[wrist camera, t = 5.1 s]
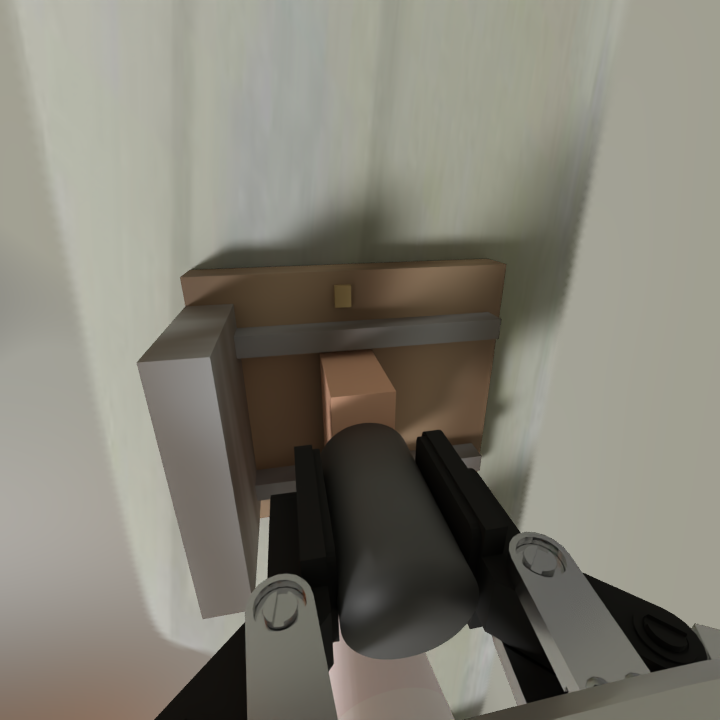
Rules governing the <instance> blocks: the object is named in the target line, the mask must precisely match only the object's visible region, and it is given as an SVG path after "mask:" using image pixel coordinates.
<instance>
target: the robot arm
mask: <svg viewBox="0 0 720 720" xmlns="http://www.w3.org/2000/svg"><path fill="white" fill-rule="evenodd" d="M294 457H295V476H296V492H290V493H283V494H276V495H271V497H270V520H269V549H268V578H267V579H266V580H264V581H263V582H262V583H260V584H259V585H258V586H257V587H256V588H255V589H254V591H253V592H252V593H251V595H250V597H249V599H248V601H247V603H246V610H245V623H244V624H243V625H242V626H241V627H240V628H239V629H238V630H237V631H236V632H235V634H234V635H233V636H232V637H231V638H230V639H229V640H228V641H227V642H226V643H225V644H224V645H223V646H222V647H221V649H220V650H219V651H218V652H217V653H216V654H215V655H214V656H213V657H212V658H211V659H210V660H209V661H208V662H207V664H206V665H205V666H204V667H203V668H202V669H201V670H200V671H199V672H198V673H197V674H196V676H194V678H193V679H192V680H191V681H190V682H189V683H188V684H187V685H186V686H185V687H184V688H183V690H181V691H180V693H179V694H178V695H177V696H176V697H175V698H174V699H173V700H172V701H171V702H170V703H169V704H168V706H167V707H166V708H165V709H164V710H163V711H162V712H161V713H160V714H159V715H158V716H157V717H156V718H155V719H154V720H338V717H337V712H336V707H335V702H334V697H333V692H332V687H331V682H330V676H329V670H330V669H331V667H332V666H333V664H334V656H333V643H334V642H339V641H340V639H339V616H338V608H337V596H338V593H337V570H336V555H335V546H334V539H333V533H332V526H331V520H330V514H329V507H328V501H327V494H326V488H325V481H324V475H323V468H322V462H321V456H320V449H312V445H303V446H294ZM415 462H416V464H417V466H418V468H419V470H420V471H421V473H422V475H423V477H424V479H425V481H426V483H427V485H428V487H429V489H430V491H431V493H432V495H433V497H434V499H435V501H436V503H437V505H438V507H439V509H440V511H441V513H442V515H443V517H444V519H445V520H446V522H447V524H448V526H449V528H450V530H451V532H452V534H453V536H454V538H455V540H456V542H457V544H458V546H459V548H460V550H461V552H462V554H463V556H464V558H465V560H466V562H467V564H468V566H469V568H470V569H471V571H472V573H473V575H474V577H475V579H476V581H477V584H478V587H479V600H478V604H477V607H476V610H475V612H474V614H473V615H472V617H471V619H470V620H469V621H468V623H467V624H468V626H469V628H470V629H473V628H478V627H482V626H483V628H484V630H485V632H487V633H489V634H491V635H492V637H493V642H494V645H495V648H496V650H497V653H498V656H499V658H500V661H501V663H502V666H503V668H504V671H505V674H506V677H507V679H508V682H509V684H510V687H511V689H512V692H513V695H514V698H515V700H516V703H517V705H518V706H516V707H511V708H507V709H504V710H500V711H496V712H492V713H488V714H484V715H480V716H476V717H472V718H468V719H464V720H720V630H718V629H714V628H710V627H706V626H703V625H699V624H694V626H693V627H692V628H690V627H689V626H688V625H687V624H686V623H685V622H683V621H682V620H681V619H679V618H678V617H676V616H675V615H674V614H672V613H670V612H668V611H667V610H665V609H663V608H661V607H659V606H656V605H654V604H652V603H650V602H647V601H645V600H643V599H641V598H638V597H636V596H634V595H632V594H630V593H627V592H625V591H623V590H621V589H618V588H616V587H613V586H611V585H609V584H607V583H605V582H602V581H600V580H598V579H596V578H593V577H591V576H589V575H587V574H585V573H582V572H581V570H580V569H579V567H578V566H577V564H576V563H575V561H574V560H573V559H572V557H571V556H570V554H569V553H568V552H567V551H566V550H565V548H564V547H562V545H560V544H559V543H558V542H556V541H555V540H554V539H552V538H549V537H547V536H546V535H543V534H539V533H535V532H524V533H520V531H519V530H518V529H517V527H516V526H515V524H514V523H513V522H512V520H511V519H510V517H509V516H508V515H507V513H506V512H505V510H504V509H503V508H502V506H501V505H500V503H499V502H498V501H497V499H496V498H495V496H494V495H493V494H492V492H491V491H490V489H489V488H488V487H487V485H486V484H485V482H484V481H483V480H482V478H481V477H480V475H479V474H478V473H477V472H476V470H475V469H473V468H467V466H466V465H465V463H464V462H463V460H462V459H461V458H460V456H459V455H458V453H457V452H456V450H455V449H454V447H453V446H452V445H451V443H450V442H449V440H448V439H447V437H446V436H445V434H444V433H443V432H442V431H441V430H432V431H424V432H422V436H420V437H417V440H416V454H415Z"/></svg>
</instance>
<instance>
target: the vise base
mask: <svg viewBox="0 0 720 720" xmlns="http://www.w3.org/2000/svg"><path fill="white" fill-rule="evenodd" d="M505 271H506V264H504V263H501V262H497V261H494V260H490V259H466V260H439V261H413V262H386V263H359V264H333V265H306V266H280V267H253V268H226V269H200V270H189V271H188V272H186V273H185V274H184V275H183V276H181V277H180V280H181V285H182V290H183V295H184V301H185V306H186V307H185V308H184V309H183V310H182V311H181V312H180V313H179V315H178V316H177V317H176V318H175V319H174V320H173V321H172V323H171V324H170V325H169V326H168V327H167V328H166V330H165V331H164V332H163V333H162V334H161V335H160V336H159V338H158V339H157V340H156V341H155V342H154V343H153V344H152V346H151V347H150V348H149V349H148V350H147V351H146V352H145V354H144V355H143V356H142V357H141V358H140V359H139V361H138V362H137V366H138V370H139V374H140V378H141V381H142V385H143V389H144V393H145V397H146V401H147V405H148V409H149V413H150V416H151V420H152V424H153V428H154V432H155V436H156V440H157V444H158V448H159V451H160V455H161V459H162V463H163V467H164V471H165V475H166V479H167V482H168V486H169V490H170V494H171V498H172V502H173V506H174V510H175V514H176V517H177V521H178V525H179V529H180V533H181V537H182V541H183V545H184V548H185V552H186V556H187V560H188V564H189V568H190V572H191V576H192V580H193V583H194V587H195V591H196V595H197V599H198V603H199V607H200V611H201V615H202V618H203V619H206V618H212V617H217V616H223V615H228V614H233V613H239V612H244V611H245V610H246V603H247V601H248V599H249V597H250V595H251V593H252V592H253V591H254V589H255V585H256V570H257V554H258V539H259V523H260V518H264V517H270V497H271V495H276V494H283V493H290V492H296V476H295V457H294V446H303V445H312V449H320V454H321V452H322V450H323V448H324V427H323V408H322V389H321V370H320V353H325V352H338V351H352V350H365V349H371V350H372V352H373V353H374V355H375V357H376V358H377V360H378V362H379V363H380V365H381V367H382V368H383V370H384V372H385V373H386V375H387V377H388V379H389V380H390V382H391V384H392V385H393V387H394V389H395V390H396V410H395V430H396V431H397V432H398V433H399V434H400V435H401V436H402V437H403V439H404V440H405V442H406V444H407V446H408V448H409V450H410V452H411V454H412V456H413V458H414V460H415V454H416V440H417V437H420V436H422V432H424V431H432V430H441V431H442V432H443V433H444V434H445V436H446V437H447V439H448V440H449V442H450V443H451V445H452V446H453V447H454V449H455V450H456V452H457V453H458V455H459V456H460V458H461V459H462V460H463V462H464V463H465V465H466V466H467V468H473V469H475V470H476V472H477V471H478V470H480V464H481V457H482V456H481V455H480V448H481V441H482V434H483V427H484V420H485V413H486V406H487V399H488V392H489V385H490V378H491V370H492V363H493V356H494V349H495V342H496V339H499V332H500V325H501V319H500V318H499V314H500V307H501V300H502V292H503V285H504V278H505Z"/></svg>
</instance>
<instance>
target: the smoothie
mask: <svg viewBox="0 0 720 720" xmlns="http://www.w3.org/2000/svg"><path fill="white" fill-rule="evenodd" d="M338 616H339V615H338ZM339 639H340V641H339V642H334V643H333V656H334V664H333V666H332V667H331V669H330V670H329V676H330V682H331V687H332V692H333V697H334V702H335V707H336V712H337V717H338V720H455V719H454V717H453V714H452V712H451V710H450V707H449V705H448V703H447V701H446V699H445V697H444V694H443V692H442V690H441V688H440V685H439V683H438V681H437V678H436V676H435V674H434V672H433V669H432V667H431V665H430V663H429V660H428V658H427V656H426V653H425V652H424V653H421V654H418V655H415V656H411V657H407V658H401V659H392V660H383V659H374V658H369V657H366V656H363V655H361V654H359V653H357V652H355V651H354V650H352V649H351V648H350V647H349V646H348V645H347V644H346V643H345V641H344V639H343V637H342V634H341V629H340V622H339Z"/></svg>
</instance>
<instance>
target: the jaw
mask: <svg viewBox="0 0 720 720" xmlns="http://www.w3.org/2000/svg"><path fill="white" fill-rule="evenodd" d="M320 370H321V389H322V408H323V427H324V448H323V450H322V452H321V454H320V456H321V462H322V468H323V475H324V481H325V488H326V494H327V501H328V507H329V514H330V520H331V526H332V533H333V539H334V546H335V555H336V570H337V593H338V596H337V608H338V615H339V622H340V629H341V634H342V637H343V639H344V641H345V643H346V644H347V645H348V646H349V647H350V648H351V649H352V650H354V651H355V652H357V653H359V654H361V655H363V656H366V657H369V658H374V659H383V660H392V659H401V658H407V657H411V656H415V655H418V654H421V653H424V652H427V651H429V650H431V649H434V648H436V647H438V646H439V645H441V644H443V643H444V642H446V641H448V640H449V639H450V638H452V637H453V636H454V635H456V634H457V633H458V632H459V631H460V630H461V629H462V628H463V627H464V626H465V625H466V624H467V623H468V621H469V620H470V619H471V617H472V615H473V614H474V612H475V610H476V607H477V604H478V600H479V587H478V584H477V581H476V579H475V577H474V575H473V573H472V571H471V569H470V568H469V566H468V564H467V562H466V560H465V558H464V556H463V554H462V552H461V550H460V548H459V546H458V544H457V542H456V540H455V538H454V536H453V534H452V532H451V530H450V528H449V526H448V524H447V522H446V520H445V519H444V517H443V515H442V513H441V511H440V509H439V507H438V505H437V503H436V501H435V499H434V497H433V495H432V493H431V491H430V489H429V487H428V485H427V483H426V481H425V479H424V477H423V475H422V473H421V471H420V470H419V468H418V466H417V464H416V462H415V460H414V458H413V456H412V454H411V452H410V450H409V448H408V446H407V444H406V442H405V440H404V439H403V437H402V436H401V435H400V434H399V433H398V432H397V431H396V430H395V410H396V390H395V389H394V387H393V385H392V384H391V382H390V380H389V379H388V377H387V375H386V373H385V372H384V370H383V368H382V367H381V365H380V363H379V362H378V360H377V358H376V357H375V355H374V353H373V352H372V350H371V349H365V350H352V351H338V352H325V353H320Z"/></svg>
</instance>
